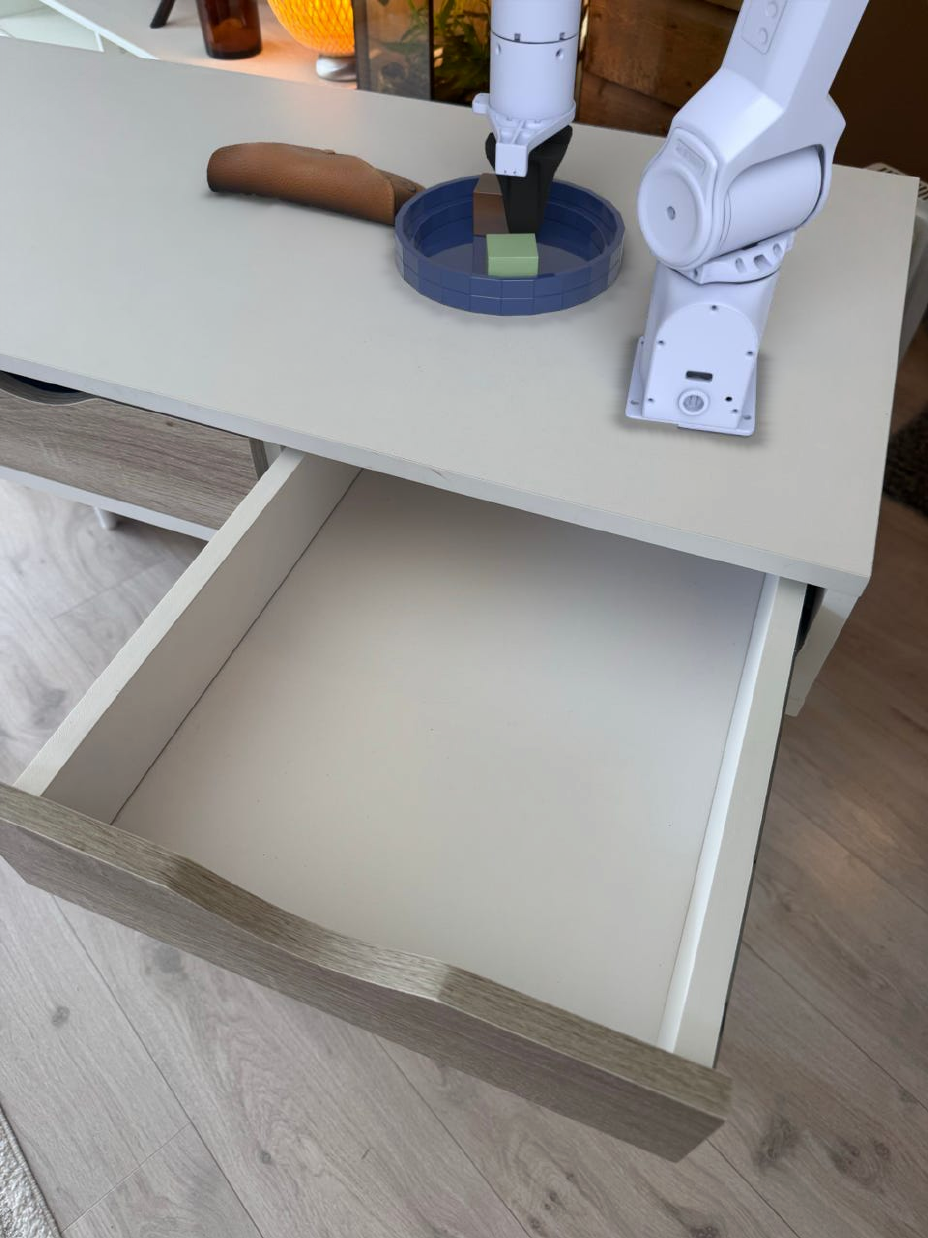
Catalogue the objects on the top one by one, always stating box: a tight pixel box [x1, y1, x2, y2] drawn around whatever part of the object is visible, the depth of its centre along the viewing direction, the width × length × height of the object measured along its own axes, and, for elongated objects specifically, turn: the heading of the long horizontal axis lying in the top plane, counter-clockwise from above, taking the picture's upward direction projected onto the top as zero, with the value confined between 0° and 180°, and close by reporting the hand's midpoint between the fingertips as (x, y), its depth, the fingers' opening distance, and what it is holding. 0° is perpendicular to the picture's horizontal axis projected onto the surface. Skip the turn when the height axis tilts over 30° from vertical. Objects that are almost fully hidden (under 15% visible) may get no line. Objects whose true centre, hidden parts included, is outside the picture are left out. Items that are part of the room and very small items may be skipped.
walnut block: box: [473, 172, 509, 236], centre depth 74 cm, size 4×4×4 cm
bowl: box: [394, 174, 626, 317], centre depth 71 cm, size 17×17×3 cm
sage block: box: [486, 234, 539, 276], centre depth 67 cm, size 4×4×4 cm
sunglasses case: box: [206, 141, 426, 227], centre depth 79 cm, size 18×7×7 cm
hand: (524, 233), depth 71 cm, fingers closed
